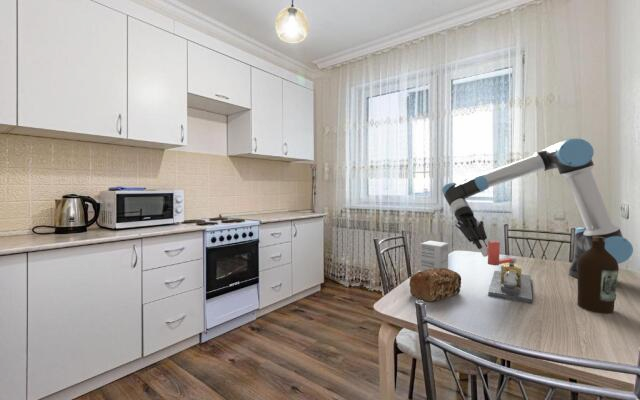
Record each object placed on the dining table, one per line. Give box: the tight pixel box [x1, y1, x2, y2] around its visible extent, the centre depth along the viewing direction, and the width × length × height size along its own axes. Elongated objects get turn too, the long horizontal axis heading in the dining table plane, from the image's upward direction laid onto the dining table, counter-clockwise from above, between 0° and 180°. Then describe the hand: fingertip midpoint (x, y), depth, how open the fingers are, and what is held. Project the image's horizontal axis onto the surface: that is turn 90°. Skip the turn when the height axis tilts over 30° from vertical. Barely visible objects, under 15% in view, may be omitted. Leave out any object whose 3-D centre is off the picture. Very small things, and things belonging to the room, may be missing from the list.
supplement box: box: [419, 240, 449, 272], centre depth 137 cm, size 10×9×17 cm
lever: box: [487, 240, 517, 266], centre depth 125 cm, size 16×4×9 cm, turn 116°
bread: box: [409, 268, 462, 303], centre depth 119 cm, size 19×11×10 cm, turn 120°
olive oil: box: [577, 236, 620, 314], centre depth 106 cm, size 11×11×25 cm
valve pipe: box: [487, 261, 533, 304], centre depth 128 cm, size 34×14×11 cm, turn 146°
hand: (486, 254), depth 125 cm, fingers closed
